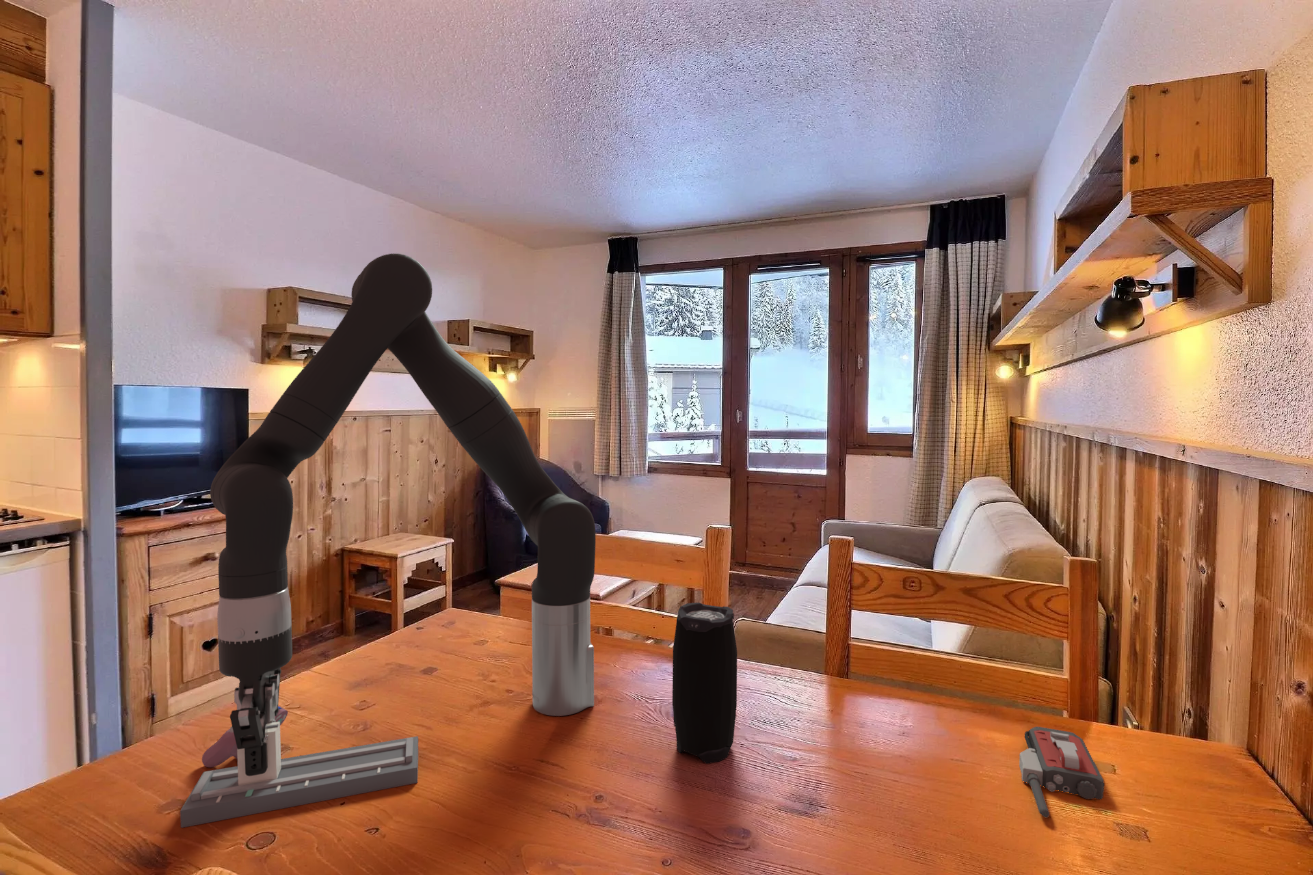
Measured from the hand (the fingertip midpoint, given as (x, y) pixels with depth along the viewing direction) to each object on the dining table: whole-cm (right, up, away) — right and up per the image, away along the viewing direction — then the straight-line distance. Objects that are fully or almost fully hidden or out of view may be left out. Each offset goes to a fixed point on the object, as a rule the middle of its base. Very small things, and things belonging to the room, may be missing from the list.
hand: (260, 765), depth 77 cm
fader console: (+5, -3, +2) cm, 7 cm away
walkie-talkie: (+100, -4, +3) cm, 100 cm away
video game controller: (-8, -3, +10) cm, 13 cm away
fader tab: (0, -2, 0) cm, 2 cm away
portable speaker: (+55, -3, +11) cm, 56 cm away
